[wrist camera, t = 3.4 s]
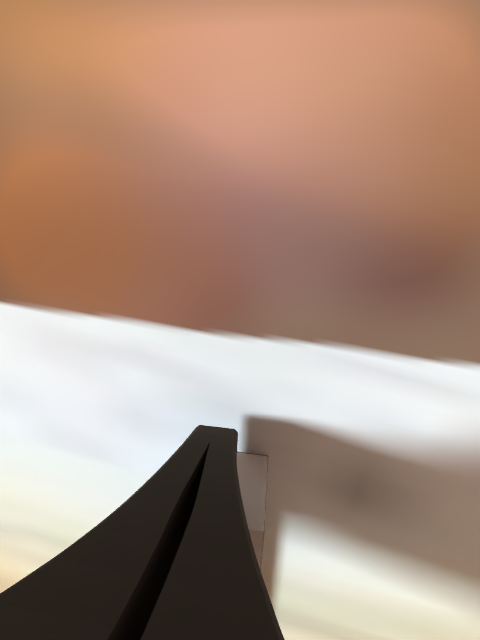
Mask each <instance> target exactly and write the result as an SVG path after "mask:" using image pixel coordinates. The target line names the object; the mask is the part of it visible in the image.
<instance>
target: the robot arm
mask: <svg viewBox="0 0 480 640" xmlns="http://www.w3.org/2000/svg"><path fill="white" fill-rule="evenodd" d="M237 441H238V432H237V431H236V430H235V429H229V428H221V427H212V426H204V425H199V426H197V427H196V428H195V430H194V431H193V432H192V433H191V434H190V436H189V437H188V438H187V439H186V440H185V442H184V443H183V444H182V445H181V446H180V447H179V448H178V450H177V451H176V452H175V453H174V454H173V455H172V456H171V457H170V458H169V459H168V460H167V461H166V463H165V464H164V465H163V466H162V467H161V468H160V469H159V470H158V471H157V472H156V473H155V474H154V475H153V476H152V477H151V478H150V479H149V480H148V481H147V482H146V483H145V484H144V485H143V486H142V487H141V488H140V489H138V490H137V491H136V492H135V493H134V494H133V495H132V496H131V497H130V498H129V499H128V500H127V501H125V502H124V503H123V504H122V505H121V506H120V507H119V508H117V509H116V510H115V511H114V512H113V513H111V514H110V515H109V516H108V517H107V518H105V519H104V520H103V521H102V522H101V523H99V524H98V525H97V526H96V527H94V528H93V529H92V530H90V531H89V532H88V533H86V534H85V535H84V536H83V537H81V538H80V539H79V540H77V541H76V542H75V543H74V544H72V545H71V546H69V547H68V548H67V549H65V550H64V551H63V552H61V553H60V554H58V555H57V556H56V557H54V558H53V559H51V560H50V561H48V562H47V563H45V564H44V565H42V566H41V567H39V568H38V569H36V570H35V571H33V572H32V573H30V574H29V575H28V576H26V577H25V578H23V579H22V580H20V581H19V582H17V583H16V584H14V585H13V586H11V587H10V588H8V589H7V590H5V591H3V592H2V593H0V640H284V637H283V635H282V632H281V629H280V627H279V624H278V621H277V618H276V615H275V613H274V610H273V607H272V604H271V601H270V598H269V595H268V592H267V589H266V586H265V583H264V580H263V577H262V574H261V571H260V568H259V565H258V561H257V558H256V554H255V551H254V548H253V544H252V540H251V536H250V533H249V529H248V525H247V520H246V516H245V512H244V507H243V502H242V497H241V492H240V486H239V478H238V471H237Z"/></svg>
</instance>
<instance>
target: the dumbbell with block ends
mask: <svg viewBox="0 0 480 640" xmlns="http://www.w3.org/2000/svg"><path fill="white" fill-rule="evenodd" d="M267 464H268V456H263V455H255V454H248V453H240V452H237V471H238V478H239V486H240V492H241V497H242V502H243V507H244V512H245V516H246V520H247V525H248V529H249V533H250V536H251V540H252V544H253V548H254V551H255V554H256V558H257V561H258V565H259V568H260V571H261V561H262V550H263V539H264V524H265V504H266V484H267Z"/></svg>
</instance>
